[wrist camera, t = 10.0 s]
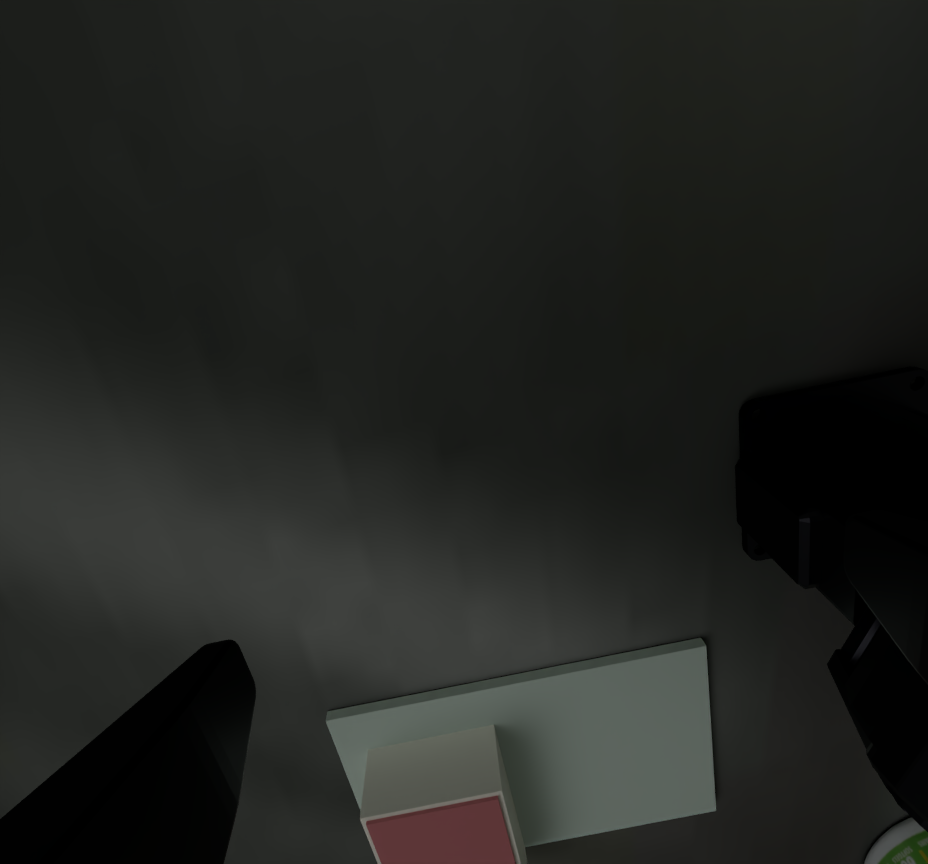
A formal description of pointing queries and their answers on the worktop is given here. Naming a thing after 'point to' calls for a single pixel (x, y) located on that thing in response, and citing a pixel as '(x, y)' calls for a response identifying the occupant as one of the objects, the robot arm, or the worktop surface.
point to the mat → (569, 738)
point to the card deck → (441, 802)
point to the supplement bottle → (901, 845)
